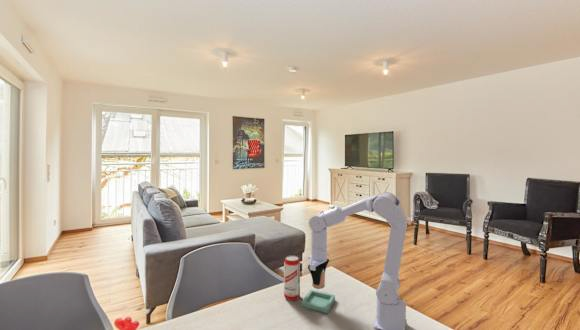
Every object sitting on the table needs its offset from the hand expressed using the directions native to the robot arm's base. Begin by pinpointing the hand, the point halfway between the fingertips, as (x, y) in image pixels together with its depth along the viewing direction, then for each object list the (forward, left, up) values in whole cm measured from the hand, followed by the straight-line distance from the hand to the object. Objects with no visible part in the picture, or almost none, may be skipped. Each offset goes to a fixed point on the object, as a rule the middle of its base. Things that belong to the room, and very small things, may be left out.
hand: (318, 281), depth 105 cm
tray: (0, 0, -9) cm, 9 cm away
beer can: (+11, 0, -9) cm, 14 cm away
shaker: (0, 0, -2) cm, 2 cm away
